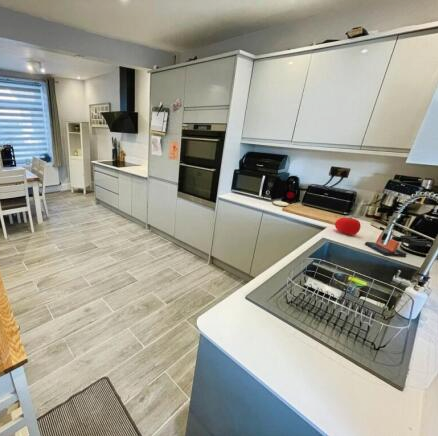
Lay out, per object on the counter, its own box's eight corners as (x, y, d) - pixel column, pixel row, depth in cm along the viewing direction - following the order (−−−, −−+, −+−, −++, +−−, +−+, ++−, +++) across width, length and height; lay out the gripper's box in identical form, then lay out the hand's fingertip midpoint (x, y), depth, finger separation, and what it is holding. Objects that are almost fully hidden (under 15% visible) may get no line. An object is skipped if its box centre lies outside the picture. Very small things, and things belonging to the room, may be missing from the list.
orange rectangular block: (395, 252, 138) (400, 242, 136) (392, 251, 138) (397, 242, 136) (378, 243, 149) (383, 234, 146) (376, 243, 149) (380, 234, 146)
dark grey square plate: (409, 257, 137) (410, 254, 136) (382, 255, 137) (384, 252, 136) (385, 245, 151) (386, 242, 150) (361, 243, 151) (362, 240, 151)
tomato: (351, 238, 159) (358, 222, 155) (329, 230, 171) (335, 215, 167) (361, 235, 165) (367, 220, 161) (339, 228, 176) (344, 213, 172)
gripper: (441, 252, 139) (400, 249, 140) (418, 242, 152) (380, 239, 152) (448, 241, 137) (406, 237, 137) (424, 231, 149) (385, 228, 149)
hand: (392, 238), depth 145 cm, fingers closed
